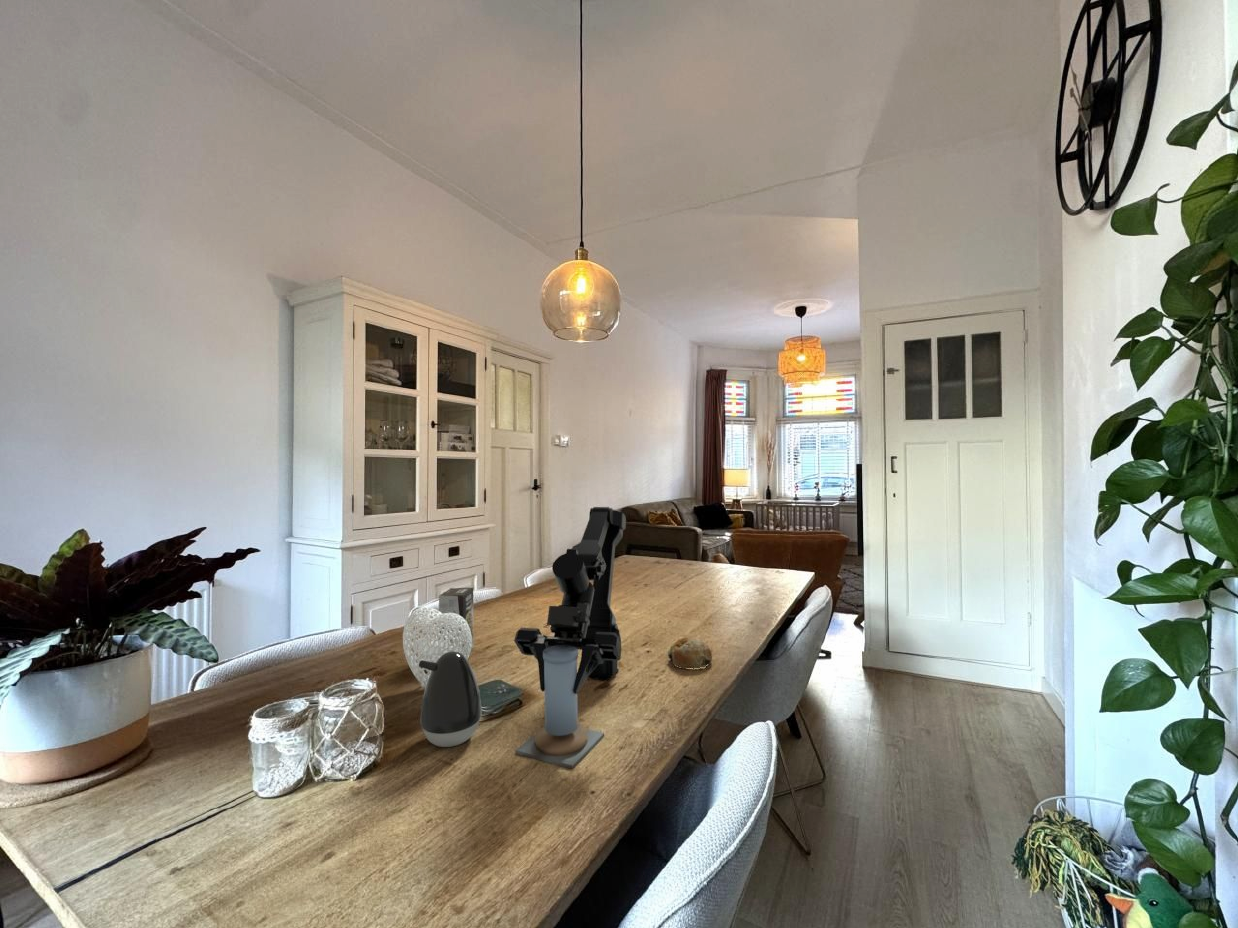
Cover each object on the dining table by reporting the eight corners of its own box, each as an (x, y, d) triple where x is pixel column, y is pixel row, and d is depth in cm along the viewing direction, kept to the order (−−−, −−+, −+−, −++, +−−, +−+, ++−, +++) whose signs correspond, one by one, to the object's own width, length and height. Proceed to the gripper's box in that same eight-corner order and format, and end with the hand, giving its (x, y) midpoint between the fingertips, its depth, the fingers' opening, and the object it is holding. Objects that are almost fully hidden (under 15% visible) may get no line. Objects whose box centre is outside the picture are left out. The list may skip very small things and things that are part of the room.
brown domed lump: (691, 688, 118) (704, 660, 116) (657, 660, 124) (669, 633, 122) (711, 674, 126) (723, 648, 124) (678, 649, 131) (689, 623, 129)
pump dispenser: (419, 731, 92) (419, 646, 92) (478, 721, 96) (478, 639, 96) (418, 761, 83) (418, 666, 83) (484, 748, 86) (484, 657, 87)
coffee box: (463, 660, 127) (463, 595, 127) (437, 660, 127) (437, 595, 127) (474, 647, 136) (474, 586, 136) (450, 647, 136) (450, 587, 136)
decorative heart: (485, 691, 109) (484, 610, 109) (443, 711, 100) (442, 623, 100) (432, 673, 119) (431, 599, 119) (389, 690, 110) (389, 610, 110)
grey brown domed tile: (515, 753, 85) (515, 743, 85) (551, 723, 95) (551, 714, 95) (572, 769, 80) (572, 758, 80) (604, 735, 90) (604, 726, 90)
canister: (536, 728, 87) (535, 652, 87) (562, 715, 92) (561, 642, 92) (560, 740, 83) (559, 660, 83) (586, 726, 88) (585, 650, 88)
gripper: (517, 583, 93) (491, 667, 82) (617, 587, 90) (604, 675, 79) (533, 614, 101) (511, 695, 90) (626, 619, 98) (615, 703, 87)
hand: (558, 691), depth 86 cm, fingers closed on canister, 5 cm apart
